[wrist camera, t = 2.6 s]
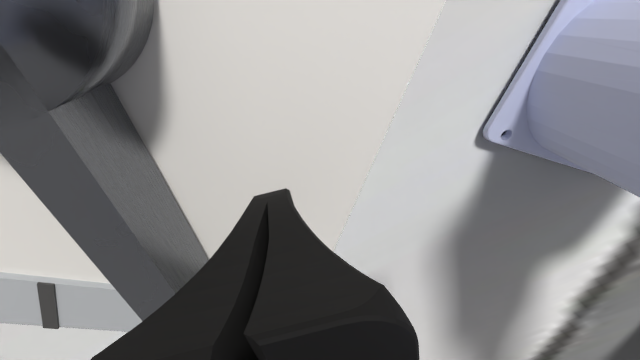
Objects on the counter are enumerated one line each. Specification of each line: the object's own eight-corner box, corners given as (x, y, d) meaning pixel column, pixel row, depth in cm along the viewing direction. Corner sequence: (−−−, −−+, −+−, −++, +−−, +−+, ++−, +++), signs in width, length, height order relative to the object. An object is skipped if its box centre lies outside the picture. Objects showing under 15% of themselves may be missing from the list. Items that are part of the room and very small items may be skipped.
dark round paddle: (-304, -220, 6) (-764, -403, 3) (49, -298, 6) (-125, -537, 3) (147, 322, 15) (121, 387, 12) (284, 288, 15) (286, 346, 12)
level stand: (452, -62, 10) (486, -75, 9) (293, 315, 19) (294, 344, 17) (-360, -484, 5) (-636, -698, 4) (-74, 281, 14) (-119, 317, 12)
